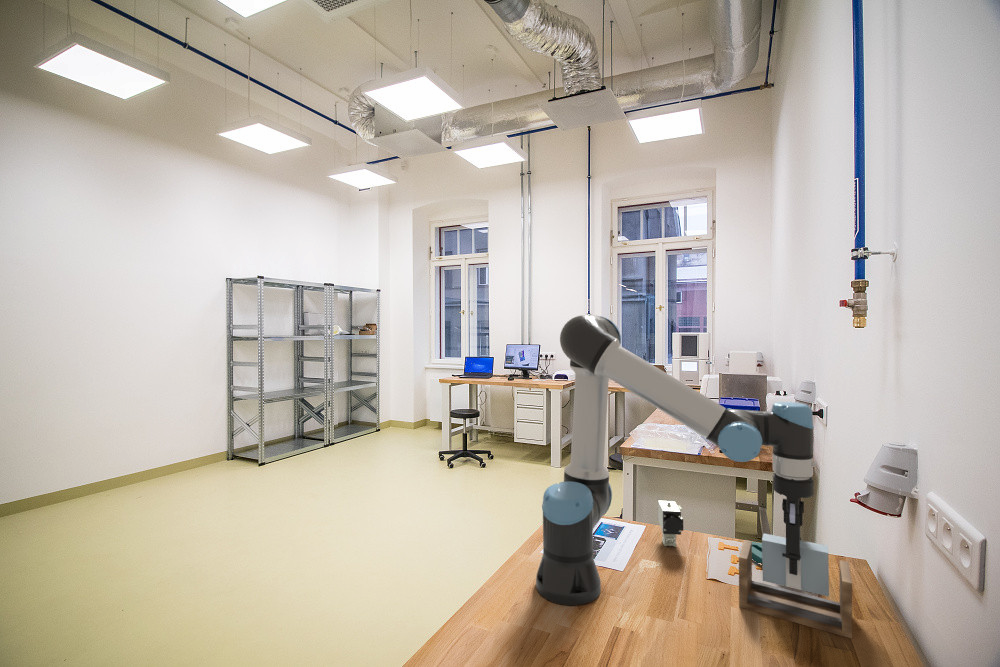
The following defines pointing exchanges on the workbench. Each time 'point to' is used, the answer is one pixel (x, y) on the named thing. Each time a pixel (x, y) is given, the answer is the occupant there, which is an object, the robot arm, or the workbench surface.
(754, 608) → the track
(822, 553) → the door panel
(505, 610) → the workbench surface
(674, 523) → the pneumatic valve
